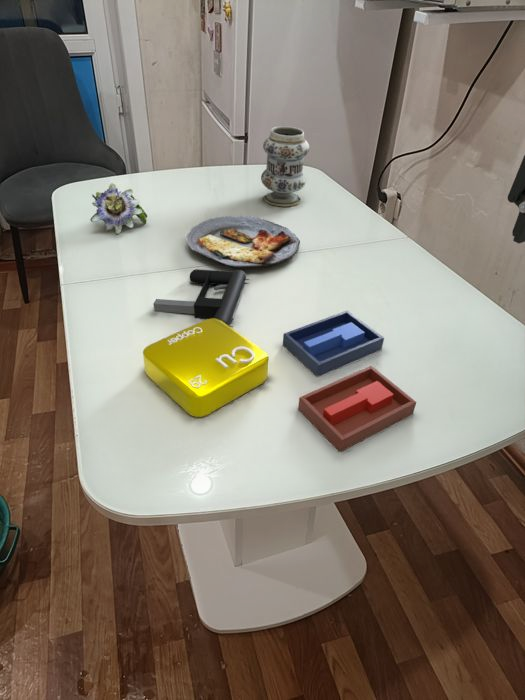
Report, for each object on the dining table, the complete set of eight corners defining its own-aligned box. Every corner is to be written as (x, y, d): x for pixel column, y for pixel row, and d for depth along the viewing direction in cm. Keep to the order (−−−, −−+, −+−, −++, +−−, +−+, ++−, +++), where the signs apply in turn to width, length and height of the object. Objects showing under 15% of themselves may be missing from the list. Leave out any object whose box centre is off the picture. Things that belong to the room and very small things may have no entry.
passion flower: (121, 253, 123) (86, 222, 113) (113, 227, 129) (78, 196, 120) (158, 226, 121) (125, 192, 111) (148, 200, 127) (115, 166, 118)
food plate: (317, 246, 118) (319, 232, 116) (256, 286, 103) (256, 271, 101) (233, 216, 129) (233, 203, 127) (167, 248, 114) (166, 234, 112)
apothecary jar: (305, 209, 134) (312, 138, 123) (259, 207, 134) (262, 136, 123) (303, 192, 144) (309, 125, 133) (260, 190, 144) (263, 122, 133)
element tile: (214, 334, 90) (214, 312, 87) (273, 378, 81) (274, 354, 78) (140, 370, 81) (136, 346, 78) (196, 422, 73) (194, 398, 70)
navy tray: (345, 321, 94) (347, 310, 93) (381, 349, 88) (384, 337, 87) (282, 344, 88) (283, 333, 87) (317, 376, 82) (318, 365, 80)
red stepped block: (375, 389, 79) (378, 377, 78) (391, 403, 77) (394, 391, 76) (317, 416, 74) (319, 404, 73) (333, 432, 72) (335, 420, 70)
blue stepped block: (349, 330, 91) (351, 319, 90) (363, 340, 89) (365, 329, 88) (298, 350, 86) (299, 338, 85) (311, 361, 84) (313, 350, 83)
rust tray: (368, 376, 82) (371, 365, 81) (413, 413, 76) (416, 402, 74) (297, 408, 76) (299, 397, 74) (339, 452, 70) (342, 440, 68)
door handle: (141, 317, 89) (232, 324, 86) (174, 263, 104) (252, 267, 102) (144, 333, 91) (233, 340, 88) (176, 277, 106) (252, 282, 104)
